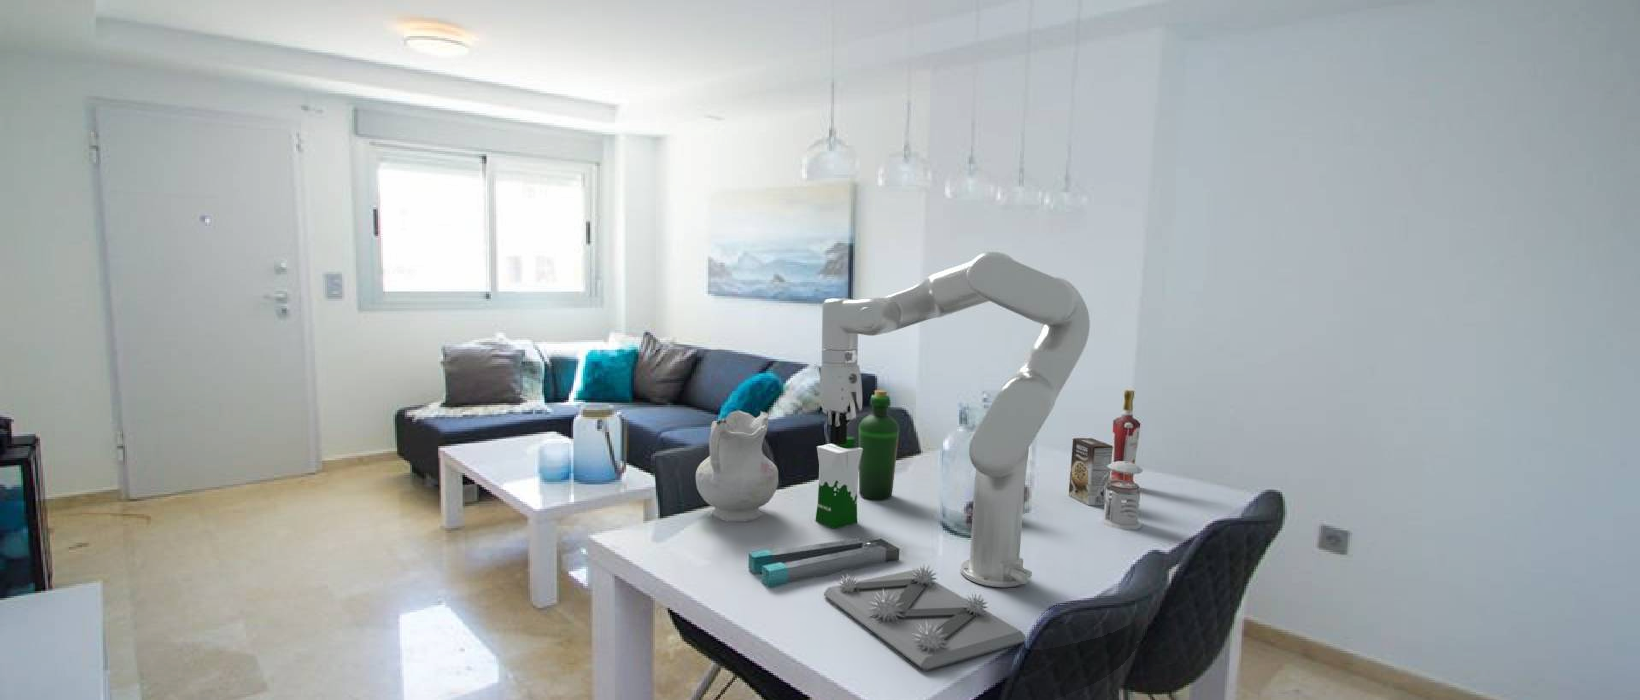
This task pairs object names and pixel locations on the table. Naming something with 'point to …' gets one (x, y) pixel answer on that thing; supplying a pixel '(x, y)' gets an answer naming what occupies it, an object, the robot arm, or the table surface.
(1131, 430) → the liquor
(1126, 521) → the french press
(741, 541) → the table surface
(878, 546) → the base
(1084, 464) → the cookie box
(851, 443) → the milk carton
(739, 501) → the ceramic pitcher
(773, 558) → the tongs arm
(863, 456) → the bottle
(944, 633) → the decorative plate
